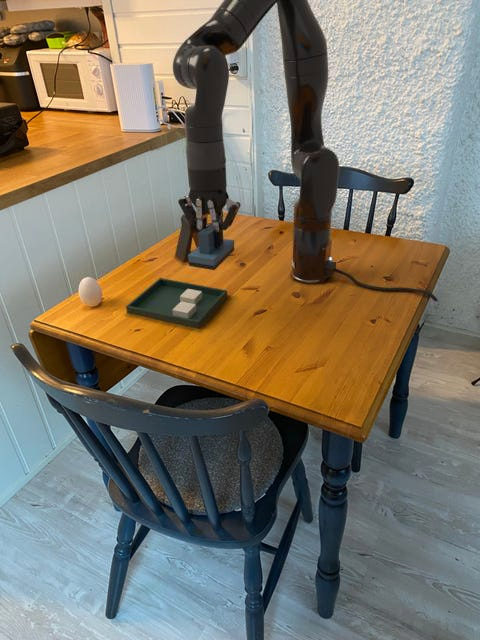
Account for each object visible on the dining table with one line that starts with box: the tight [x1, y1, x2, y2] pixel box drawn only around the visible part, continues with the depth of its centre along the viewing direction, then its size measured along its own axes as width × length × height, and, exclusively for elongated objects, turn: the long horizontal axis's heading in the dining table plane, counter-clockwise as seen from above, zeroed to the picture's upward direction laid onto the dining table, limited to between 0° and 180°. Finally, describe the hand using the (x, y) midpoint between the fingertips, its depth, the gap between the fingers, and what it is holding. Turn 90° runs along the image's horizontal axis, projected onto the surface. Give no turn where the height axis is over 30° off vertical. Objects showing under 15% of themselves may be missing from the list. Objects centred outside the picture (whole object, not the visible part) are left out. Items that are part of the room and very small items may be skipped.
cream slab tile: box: [173, 302, 196, 319], centre depth 109 cm, size 4×4×2 cm
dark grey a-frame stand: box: [174, 214, 199, 263], centre depth 133 cm, size 9×6×12 cm, turn 120°
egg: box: [78, 276, 103, 308], centre depth 113 cm, size 5×5×8 cm
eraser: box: [188, 221, 235, 271], centre depth 100 cm, size 6×10×7 cm, turn 157°
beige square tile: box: [180, 289, 202, 304], centre depth 114 cm, size 4×4×2 cm
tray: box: [125, 277, 229, 330], centre depth 112 cm, size 19×15×2 cm
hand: (211, 245), depth 100 cm, fingers closed on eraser, 2 cm apart
